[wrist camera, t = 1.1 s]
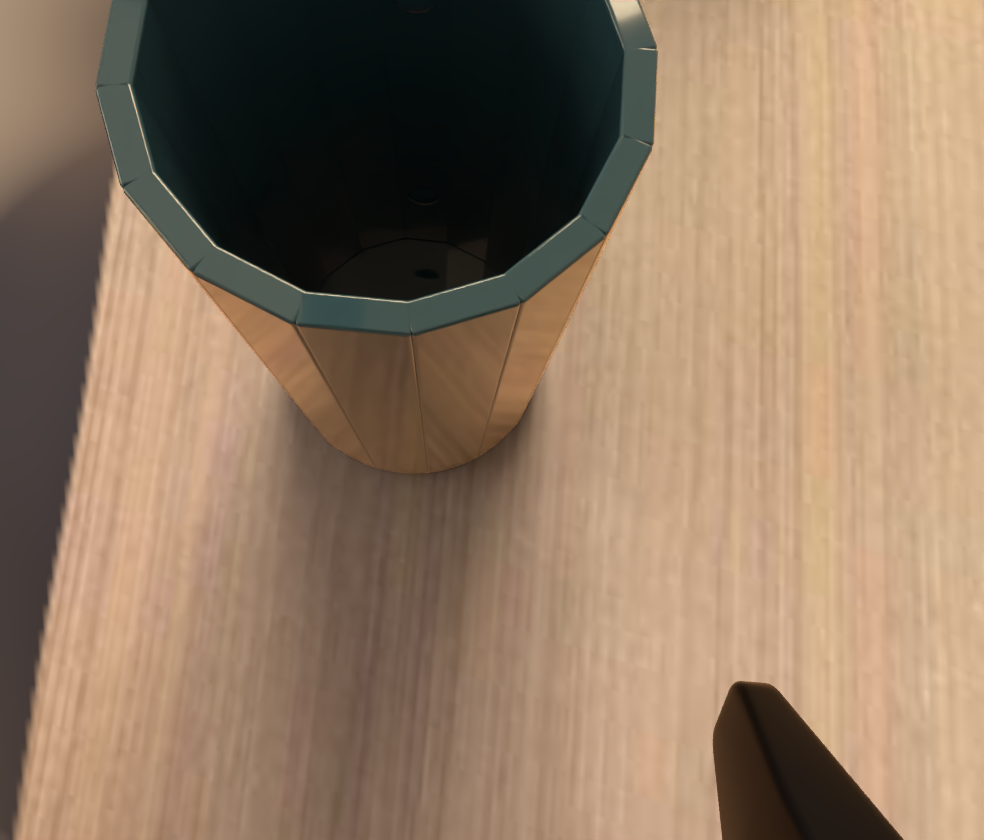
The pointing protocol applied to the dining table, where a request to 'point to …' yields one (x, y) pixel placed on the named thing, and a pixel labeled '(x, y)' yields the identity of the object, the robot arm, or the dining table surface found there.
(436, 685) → the dining table surface
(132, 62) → the teal mug
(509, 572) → the dining table surface
